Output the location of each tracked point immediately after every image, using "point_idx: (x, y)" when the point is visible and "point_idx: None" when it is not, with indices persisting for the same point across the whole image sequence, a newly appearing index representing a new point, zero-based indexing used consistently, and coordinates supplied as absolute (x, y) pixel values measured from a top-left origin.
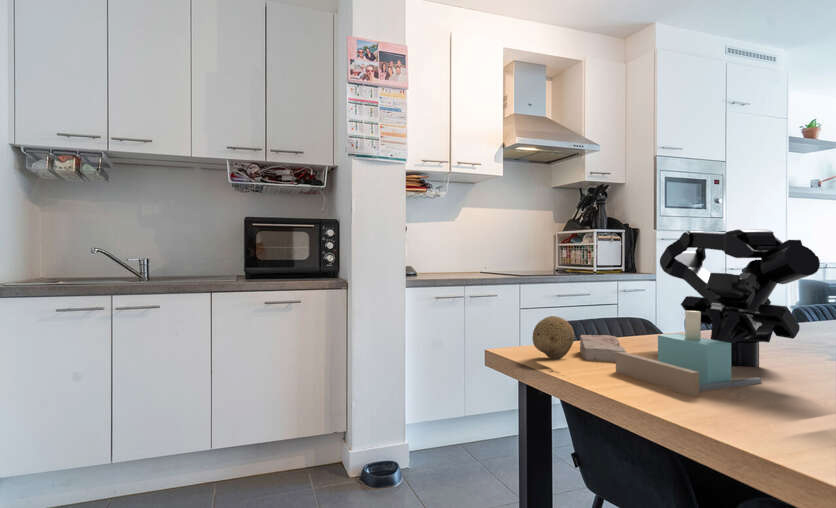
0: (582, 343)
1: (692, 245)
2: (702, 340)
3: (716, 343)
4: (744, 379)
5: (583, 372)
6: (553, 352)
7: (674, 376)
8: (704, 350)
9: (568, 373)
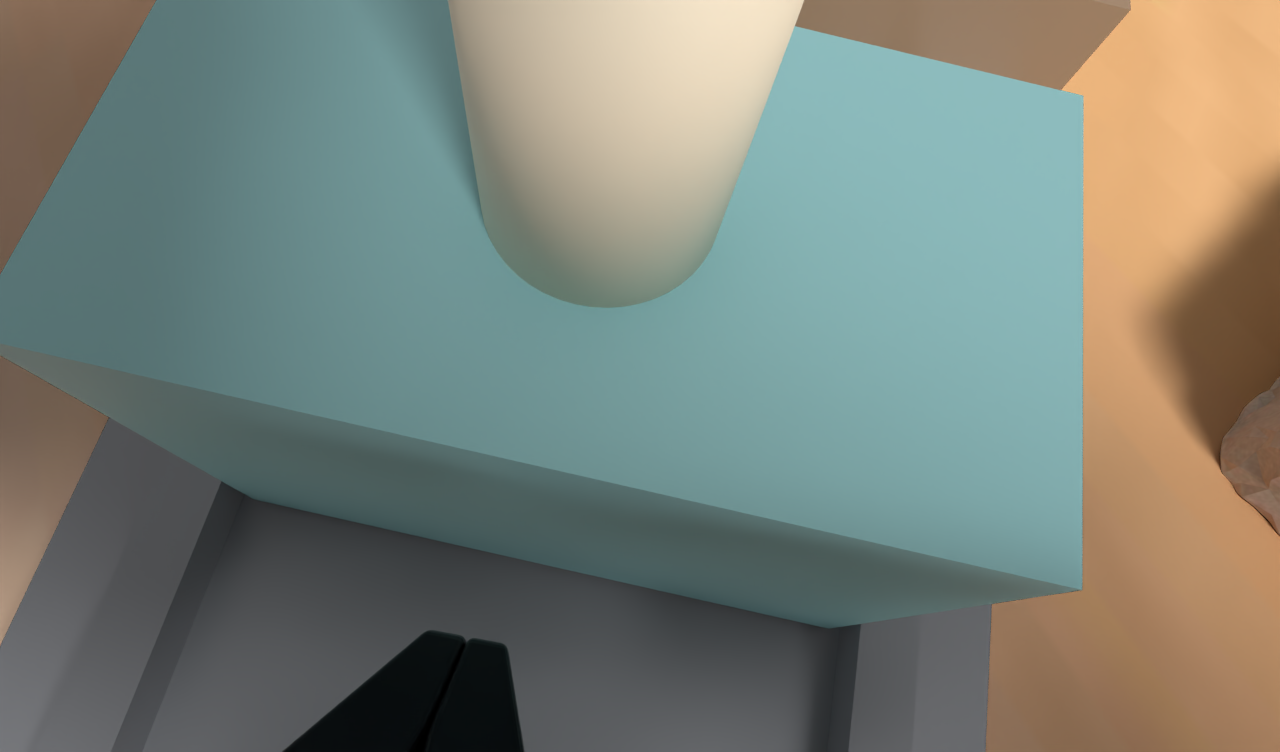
0: None
1: None
2: (436, 191)
3: (167, 107)
4: (136, 628)
5: (1224, 114)
6: None
7: None
8: None
9: (1228, 20)
